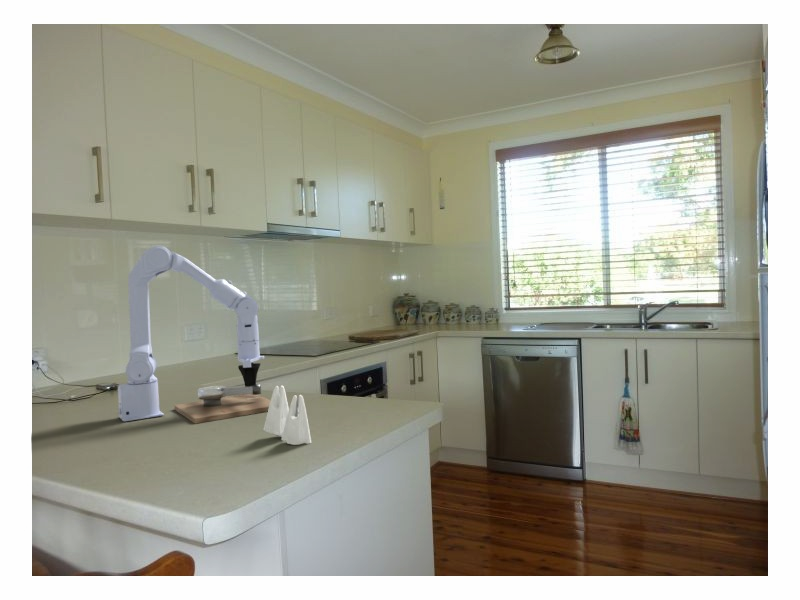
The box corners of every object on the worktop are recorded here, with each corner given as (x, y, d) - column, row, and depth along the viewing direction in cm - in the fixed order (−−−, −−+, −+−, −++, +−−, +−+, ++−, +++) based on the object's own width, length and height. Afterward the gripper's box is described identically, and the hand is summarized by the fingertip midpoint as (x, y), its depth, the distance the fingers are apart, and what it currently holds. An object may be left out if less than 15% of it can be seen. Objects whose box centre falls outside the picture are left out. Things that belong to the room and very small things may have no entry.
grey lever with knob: (195, 400, 146) (195, 391, 146) (201, 395, 153) (200, 386, 153) (259, 395, 149) (259, 386, 149) (262, 391, 155) (262, 382, 155)
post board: (195, 423, 134) (194, 411, 134) (174, 409, 153) (173, 398, 152) (282, 409, 146) (281, 397, 146) (253, 397, 165) (253, 387, 165)
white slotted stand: (262, 438, 118) (259, 385, 118) (280, 433, 121) (277, 382, 121) (295, 447, 110) (292, 391, 109) (313, 442, 113) (310, 387, 112)
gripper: (261, 342, 147) (264, 394, 147) (264, 337, 161) (267, 385, 162) (233, 344, 146) (236, 396, 146) (239, 339, 160) (241, 387, 160)
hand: (250, 390), depth 154 cm, fingers closed
